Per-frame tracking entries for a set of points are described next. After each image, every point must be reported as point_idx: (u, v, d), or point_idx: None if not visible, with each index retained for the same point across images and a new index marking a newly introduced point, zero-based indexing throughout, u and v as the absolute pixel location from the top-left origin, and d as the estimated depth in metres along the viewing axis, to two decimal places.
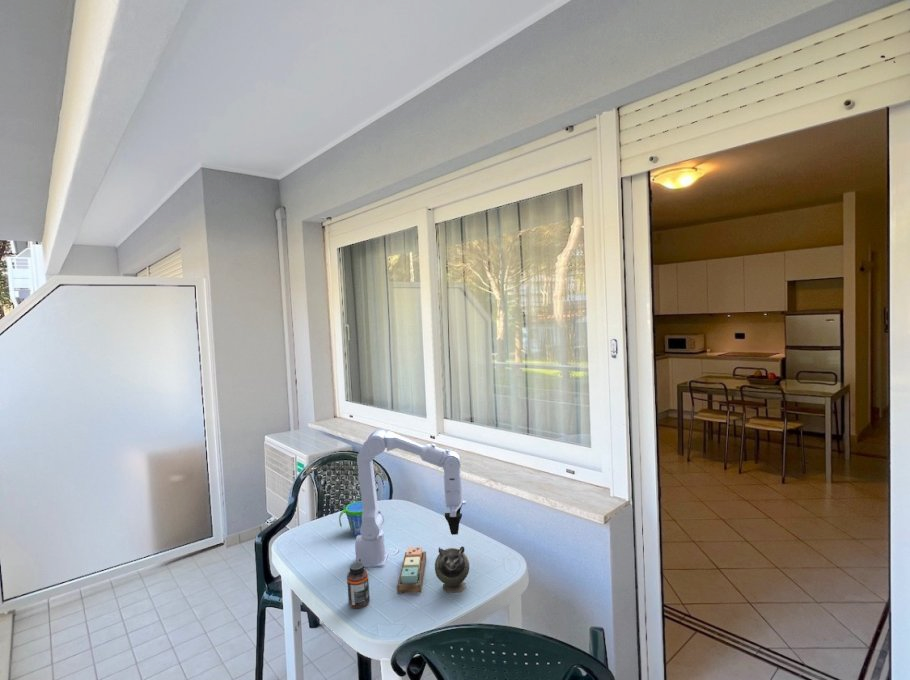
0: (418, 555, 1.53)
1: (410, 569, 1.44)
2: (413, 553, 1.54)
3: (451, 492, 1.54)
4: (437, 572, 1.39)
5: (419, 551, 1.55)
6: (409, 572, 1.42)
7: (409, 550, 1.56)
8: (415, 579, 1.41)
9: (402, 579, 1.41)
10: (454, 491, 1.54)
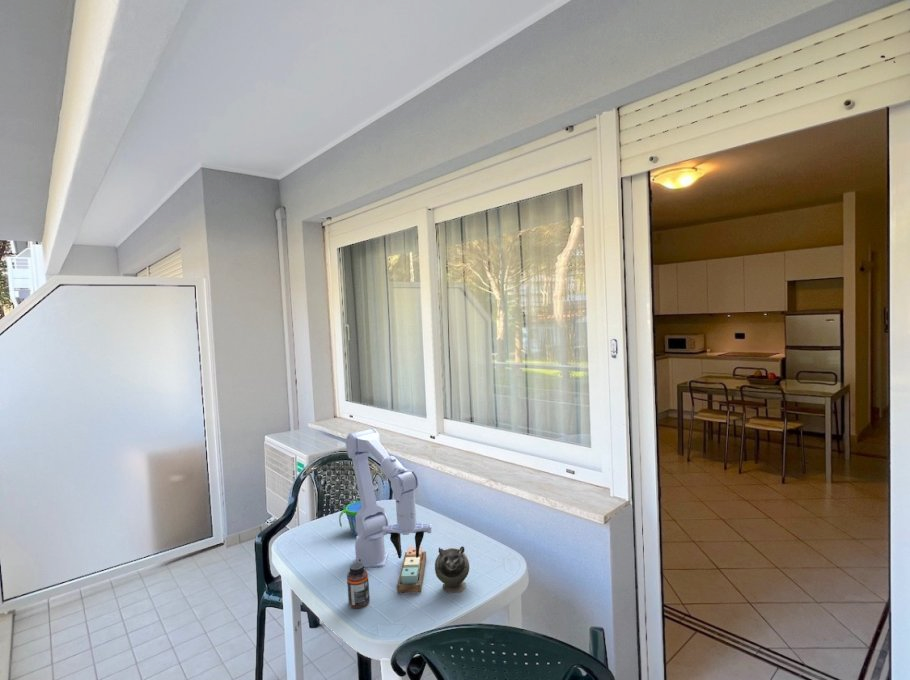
0: None
1: (410, 569, 1.44)
2: (413, 553, 1.54)
3: None
4: (437, 572, 1.39)
5: (419, 551, 1.55)
6: (409, 572, 1.42)
7: (409, 550, 1.56)
8: (415, 579, 1.41)
9: (402, 579, 1.41)
10: None
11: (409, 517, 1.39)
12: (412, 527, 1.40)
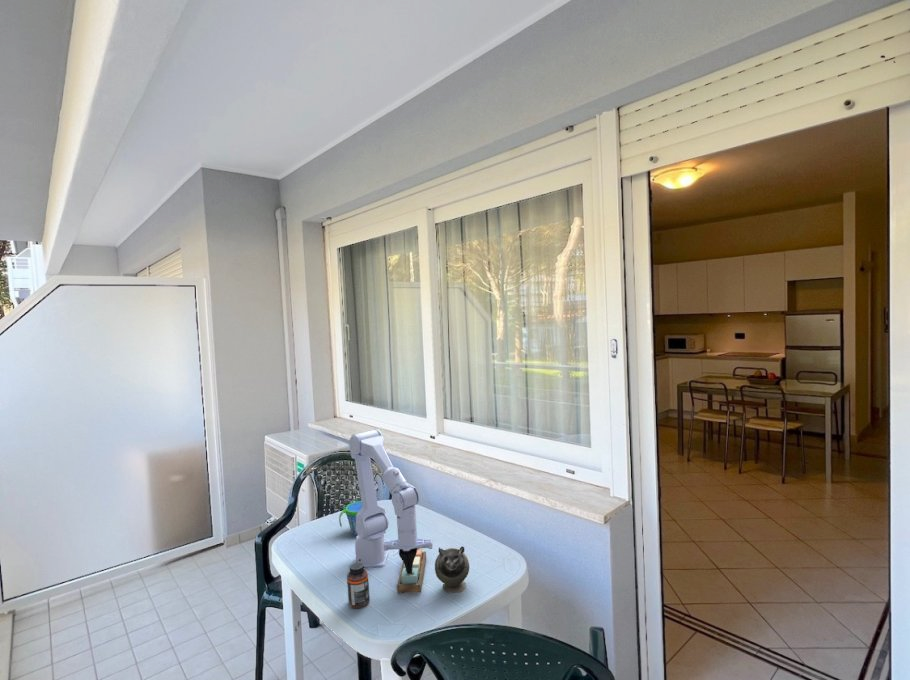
0: (418, 555, 1.53)
1: None
2: None
3: None
4: (437, 572, 1.39)
5: (419, 551, 1.55)
6: None
7: None
8: (415, 579, 1.41)
9: (402, 579, 1.41)
10: None
11: (410, 533, 1.40)
12: (413, 543, 1.40)
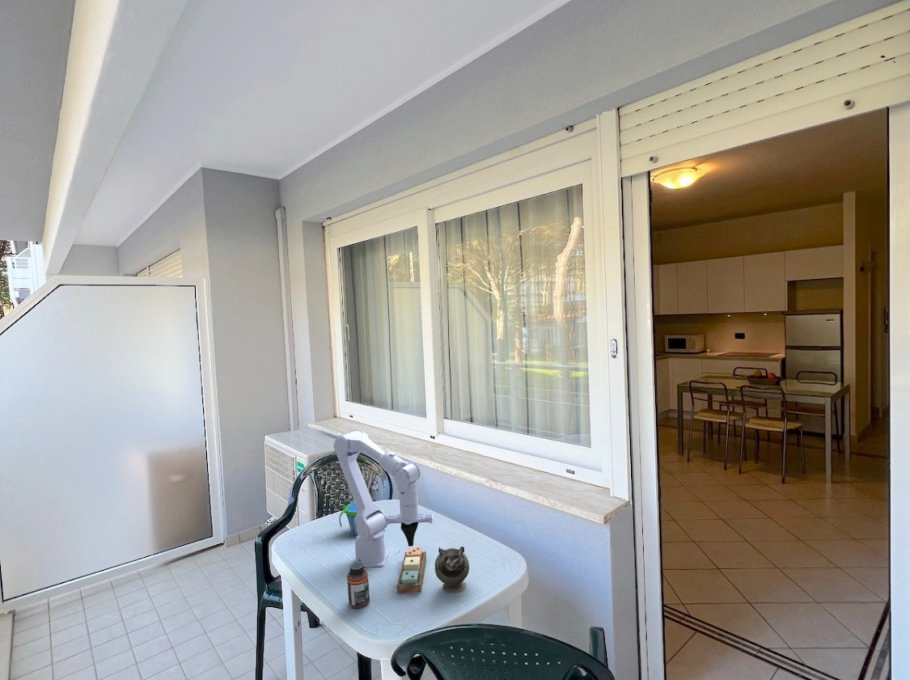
0: (418, 555, 1.53)
1: (410, 572, 1.44)
2: (413, 553, 1.54)
3: None
4: (437, 572, 1.39)
5: (419, 551, 1.55)
6: (409, 576, 1.43)
7: (409, 550, 1.56)
8: (415, 582, 1.41)
9: (402, 582, 1.41)
10: None
11: (411, 507, 1.47)
12: (414, 517, 1.47)
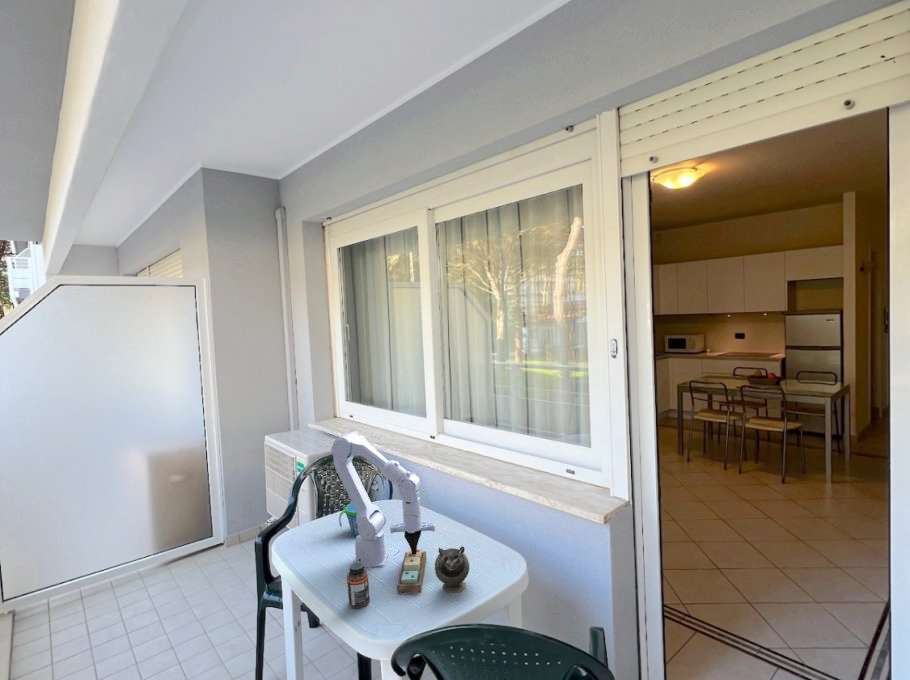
0: None
1: (410, 572, 1.44)
2: (413, 555, 1.54)
3: None
4: (437, 572, 1.39)
5: (419, 553, 1.55)
6: (409, 576, 1.43)
7: (409, 552, 1.56)
8: (415, 582, 1.41)
9: (402, 582, 1.41)
10: (403, 512, 1.54)
11: (415, 516, 1.52)
12: (417, 526, 1.53)
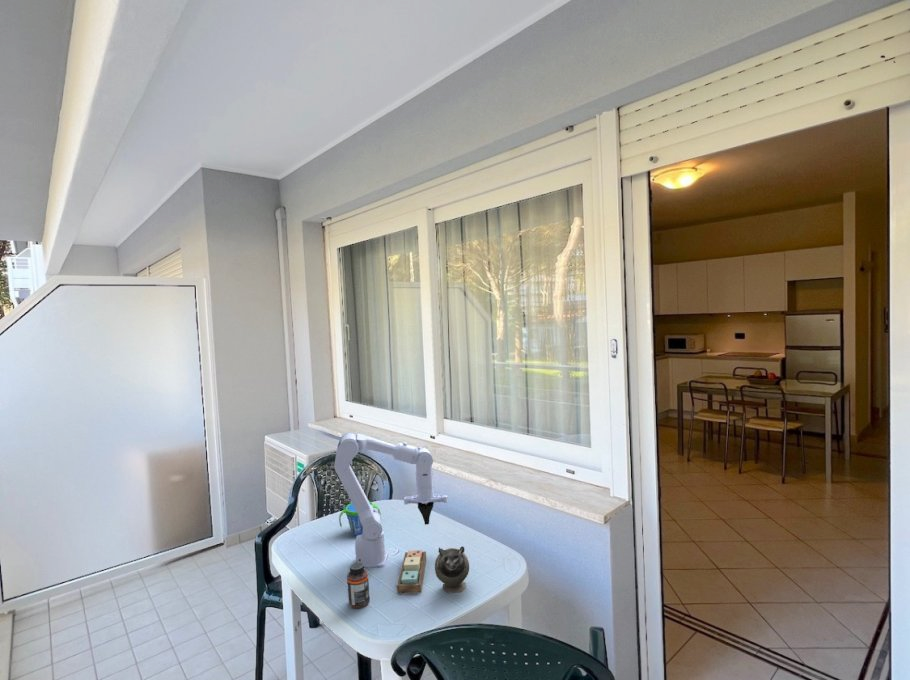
0: None
1: (410, 572, 1.44)
2: (413, 556, 1.54)
3: None
4: (437, 572, 1.39)
5: (419, 554, 1.55)
6: (409, 576, 1.43)
7: (409, 553, 1.56)
8: (415, 582, 1.41)
9: (402, 582, 1.41)
10: (416, 485, 1.61)
11: (428, 488, 1.59)
12: (430, 497, 1.60)
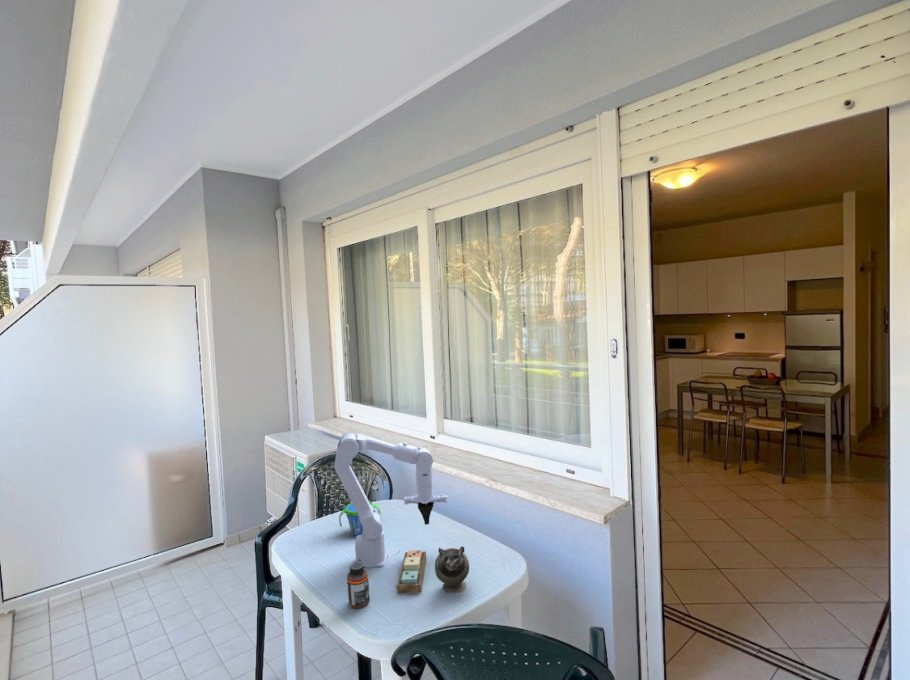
0: None
1: (410, 572, 1.44)
2: (413, 556, 1.54)
3: None
4: (437, 572, 1.39)
5: (419, 554, 1.55)
6: (409, 576, 1.43)
7: (409, 553, 1.56)
8: (415, 582, 1.41)
9: (402, 582, 1.41)
10: (416, 485, 1.61)
11: (428, 488, 1.59)
12: (430, 497, 1.60)
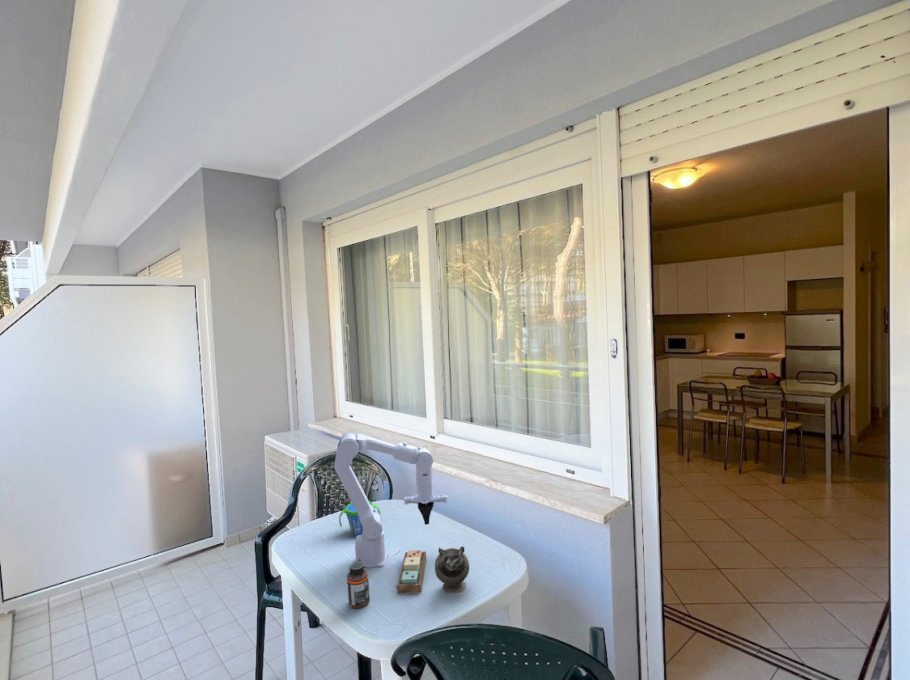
0: None
1: (410, 572, 1.44)
2: (413, 556, 1.54)
3: None
4: (437, 572, 1.39)
5: (419, 554, 1.55)
6: (409, 576, 1.43)
7: (409, 553, 1.56)
8: (415, 582, 1.41)
9: (402, 582, 1.41)
10: (416, 485, 1.61)
11: (428, 488, 1.59)
12: (430, 497, 1.60)
